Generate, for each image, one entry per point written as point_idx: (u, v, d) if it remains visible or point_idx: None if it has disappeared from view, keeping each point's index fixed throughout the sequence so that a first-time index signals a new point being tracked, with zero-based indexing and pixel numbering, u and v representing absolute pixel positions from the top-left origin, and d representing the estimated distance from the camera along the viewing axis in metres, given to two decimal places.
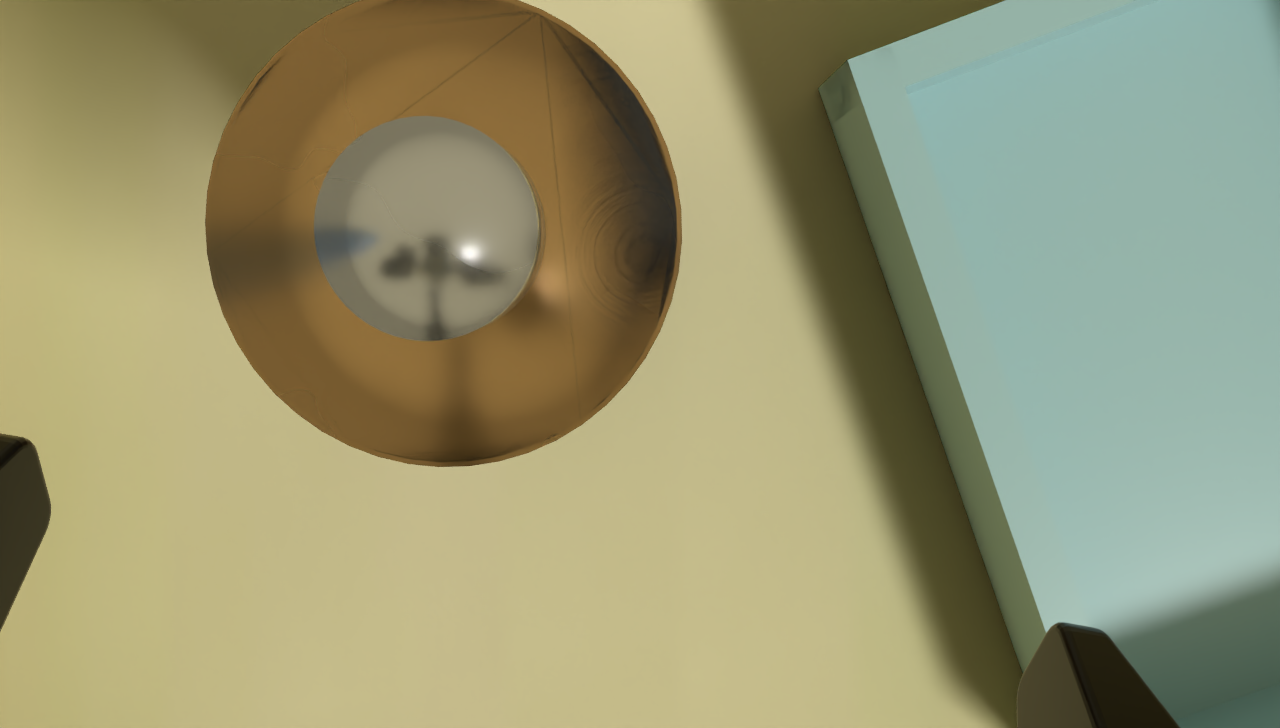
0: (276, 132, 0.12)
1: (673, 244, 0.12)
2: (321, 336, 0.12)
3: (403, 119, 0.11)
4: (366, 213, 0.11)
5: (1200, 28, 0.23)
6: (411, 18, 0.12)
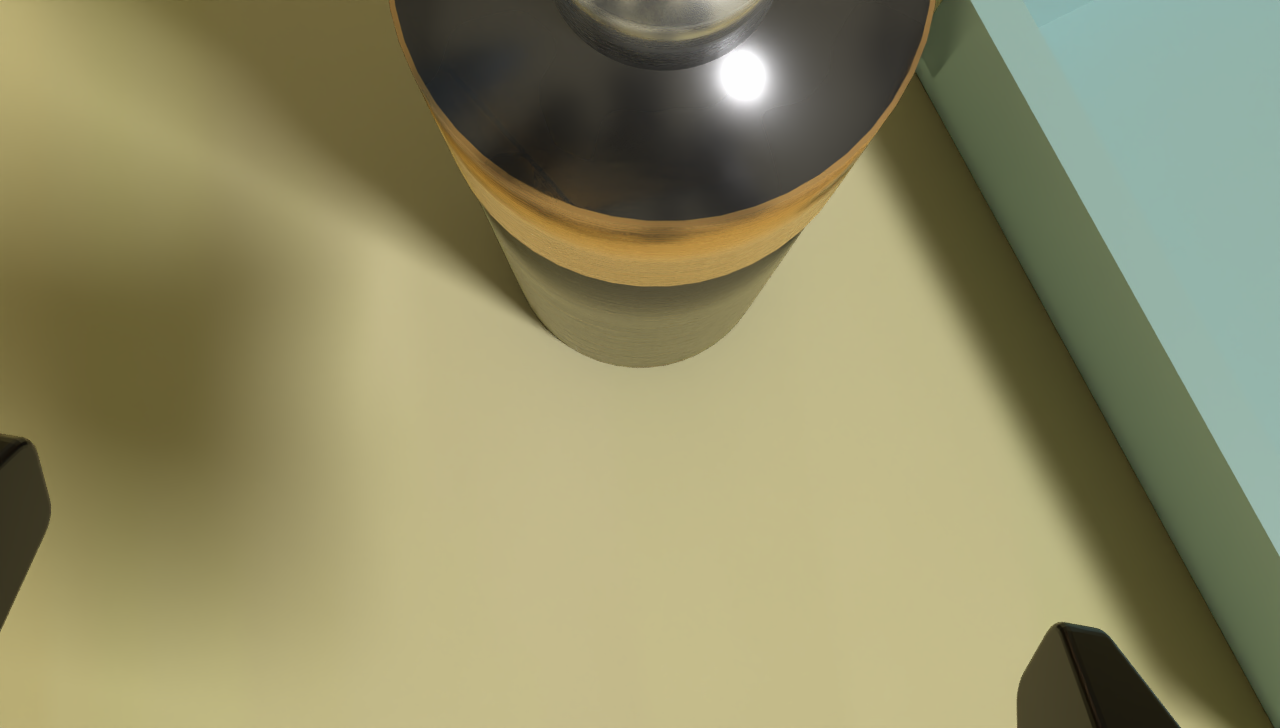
0: None
1: None
2: (529, 87, 0.10)
3: None
4: None
5: None
6: None
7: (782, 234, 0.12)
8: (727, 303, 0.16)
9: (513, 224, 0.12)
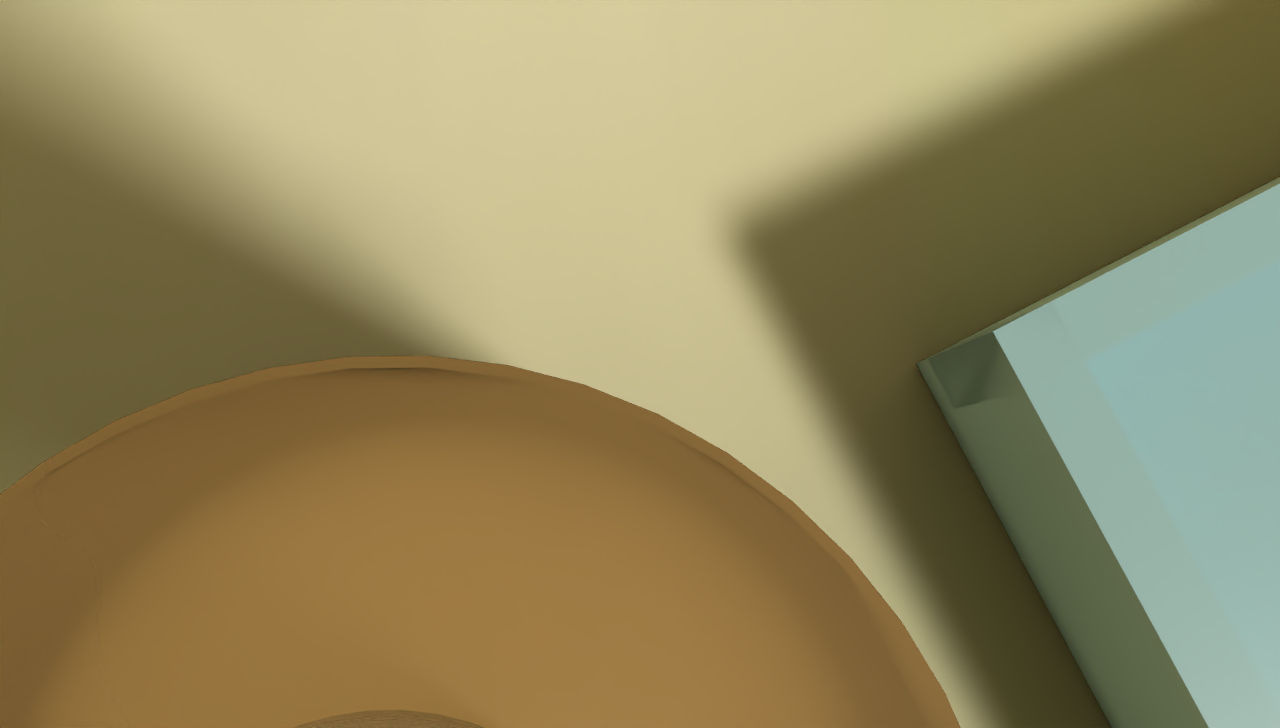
0: None
1: None
2: None
3: None
4: None
5: None
6: (259, 445, 0.05)
7: None
8: None
9: None
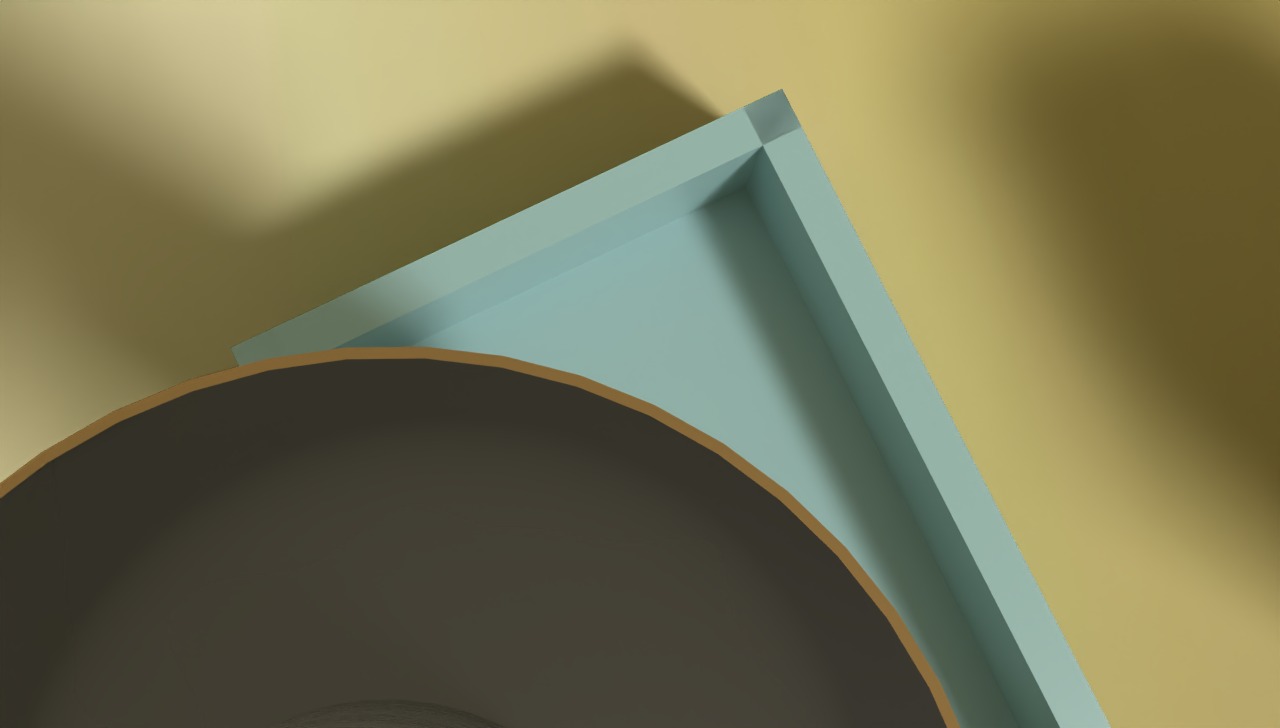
0: None
1: None
2: None
3: None
4: None
5: (646, 277, 0.24)
6: (256, 436, 0.05)
7: None
8: None
9: None
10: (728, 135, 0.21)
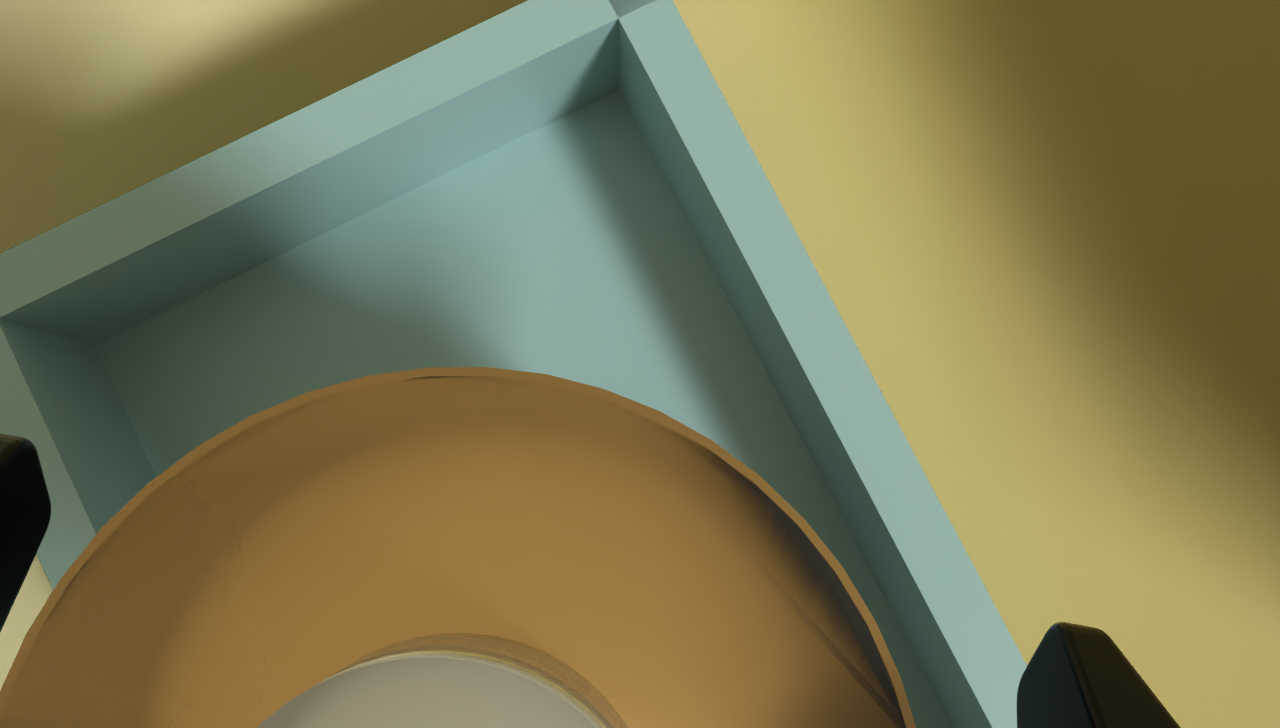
0: (105, 684, 0.06)
1: None
2: None
3: (356, 675, 0.05)
4: None
5: (494, 204, 0.19)
6: (359, 434, 0.06)
7: None
8: None
9: None
10: (573, 6, 0.16)
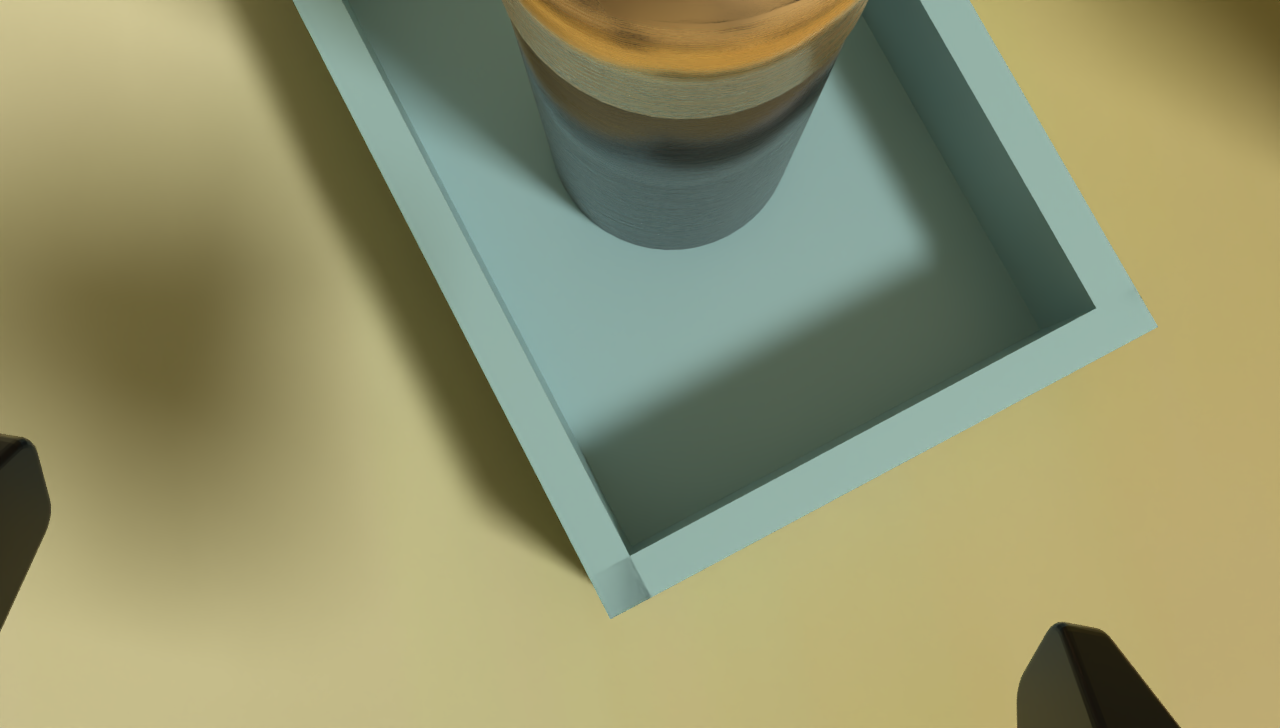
0: None
1: None
2: None
3: None
4: None
5: None
6: None
7: (806, 58, 0.14)
8: (756, 158, 0.18)
9: (561, 58, 0.14)
10: None
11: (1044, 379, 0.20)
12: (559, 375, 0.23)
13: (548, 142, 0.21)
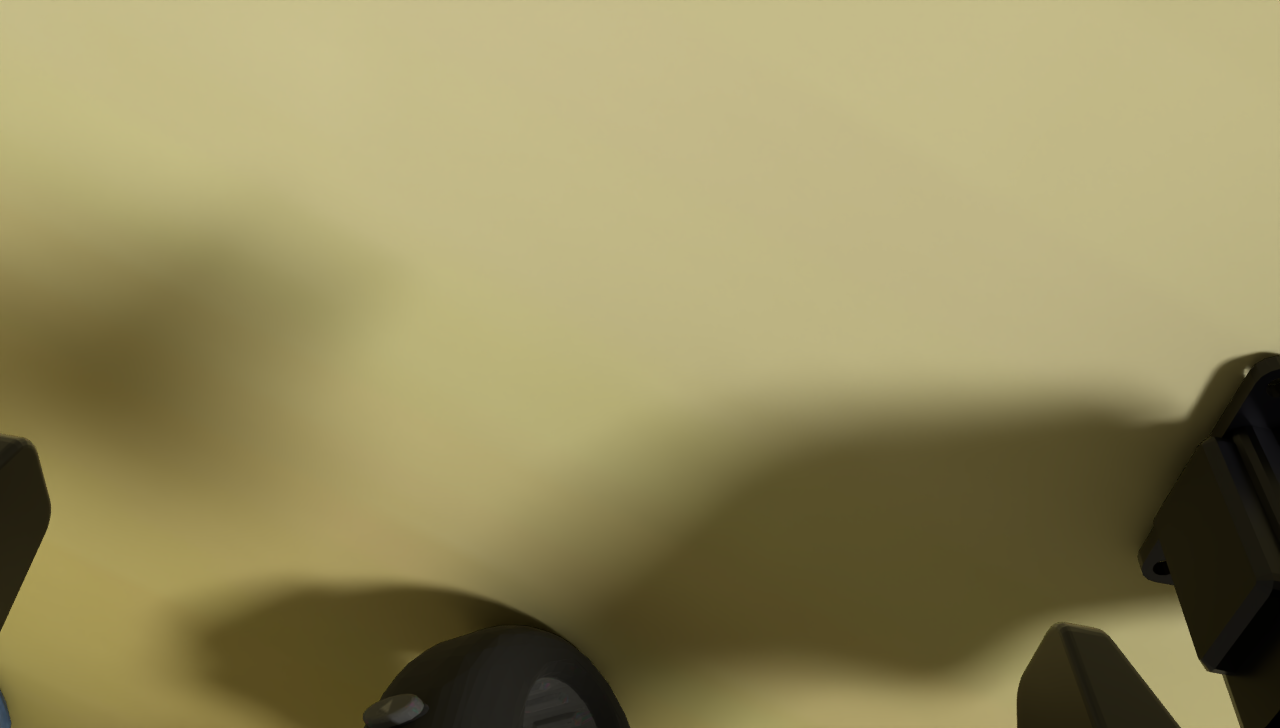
0: None
1: None
2: None
3: None
4: None
5: None
6: None
7: None
8: None
9: None
10: None
11: None
12: None
13: None
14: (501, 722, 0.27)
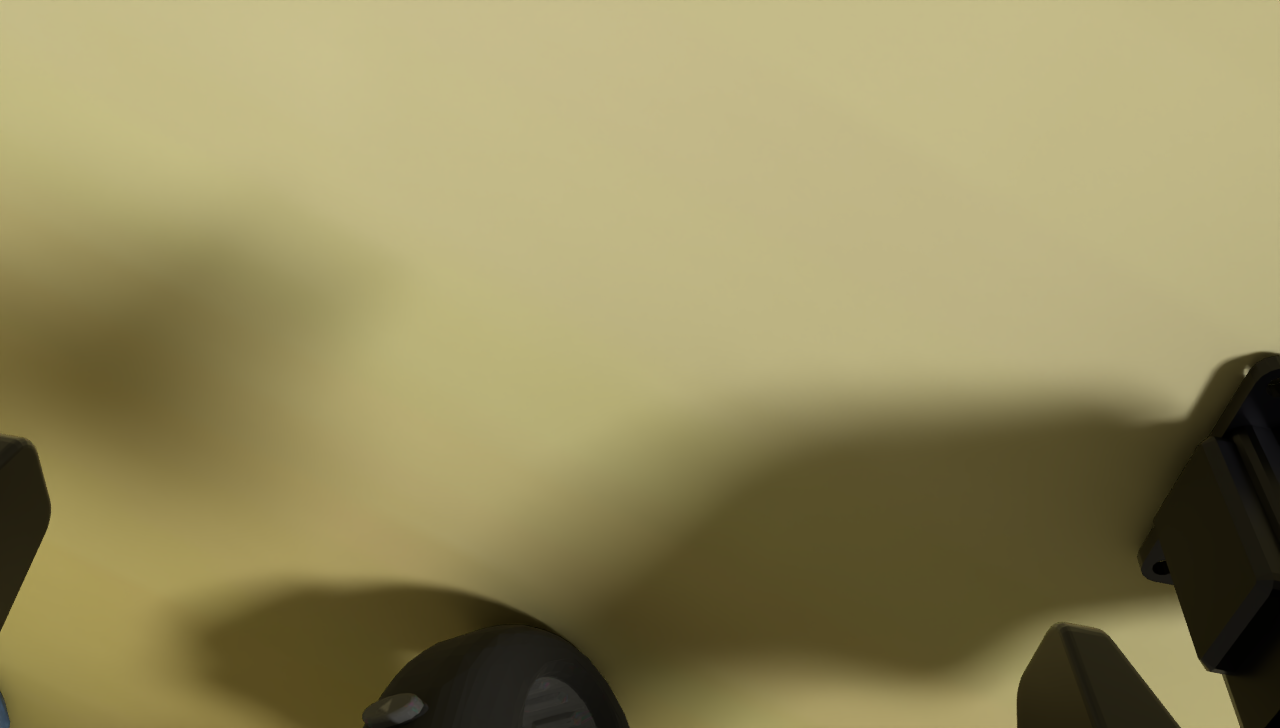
0: None
1: None
2: None
3: None
4: None
5: None
6: None
7: None
8: None
9: None
10: None
11: None
12: None
13: None
14: (500, 722, 0.27)
